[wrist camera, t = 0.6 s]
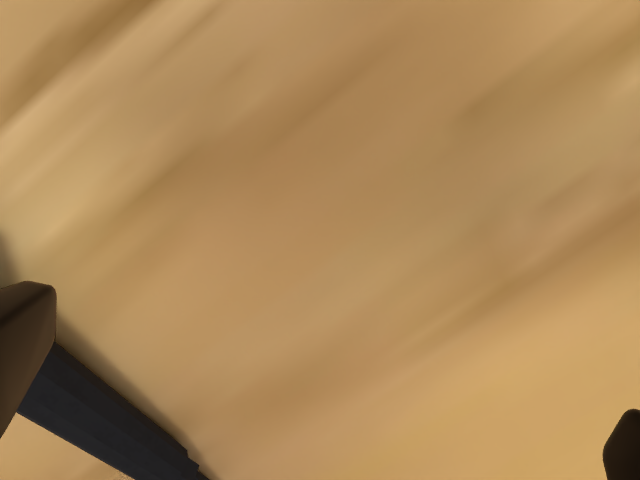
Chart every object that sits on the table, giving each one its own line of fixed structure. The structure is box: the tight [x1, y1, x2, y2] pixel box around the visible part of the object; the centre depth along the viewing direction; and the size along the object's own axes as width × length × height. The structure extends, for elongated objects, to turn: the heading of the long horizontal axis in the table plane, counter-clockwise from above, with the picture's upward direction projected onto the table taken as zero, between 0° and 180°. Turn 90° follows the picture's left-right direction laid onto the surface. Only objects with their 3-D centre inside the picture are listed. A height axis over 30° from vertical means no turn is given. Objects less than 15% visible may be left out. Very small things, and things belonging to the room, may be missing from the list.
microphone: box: [16, 342, 209, 480], centre depth 25 cm, size 6×6×20 cm
